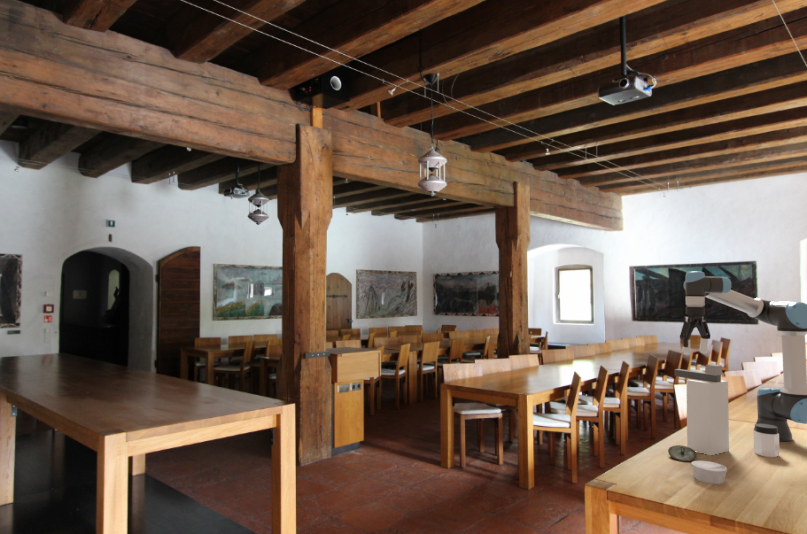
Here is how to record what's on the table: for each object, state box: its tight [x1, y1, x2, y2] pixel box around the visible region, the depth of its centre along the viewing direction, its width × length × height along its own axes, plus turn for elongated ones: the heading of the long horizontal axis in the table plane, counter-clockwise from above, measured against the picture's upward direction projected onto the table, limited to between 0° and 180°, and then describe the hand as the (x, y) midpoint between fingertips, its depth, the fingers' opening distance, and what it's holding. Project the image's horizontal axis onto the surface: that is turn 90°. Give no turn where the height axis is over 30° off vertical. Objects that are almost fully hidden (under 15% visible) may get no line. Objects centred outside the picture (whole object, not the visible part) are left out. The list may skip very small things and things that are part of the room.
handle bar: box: [674, 363, 723, 383], centre depth 233 cm, size 5×19×7 cm, turn 30°
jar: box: [753, 423, 780, 458], centre depth 223 cm, size 9×8×12 cm
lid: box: [667, 444, 698, 462], centre depth 216 cm, size 11×10×5 cm
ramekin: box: [691, 460, 728, 485], centre depth 191 cm, size 11×11×5 cm
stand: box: [686, 378, 730, 456], centre depth 228 cm, size 14×10×30 cm
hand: (695, 354), depth 234 cm, fingers open, 13 cm apart
